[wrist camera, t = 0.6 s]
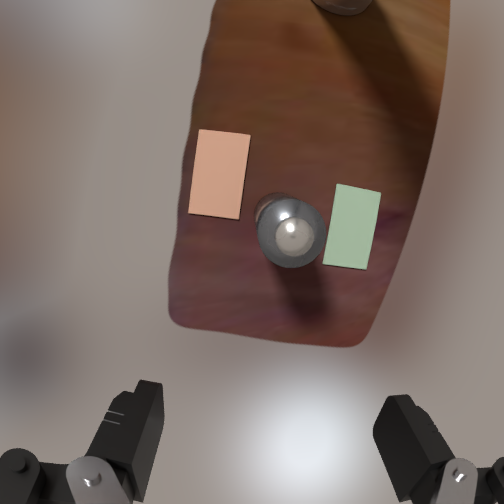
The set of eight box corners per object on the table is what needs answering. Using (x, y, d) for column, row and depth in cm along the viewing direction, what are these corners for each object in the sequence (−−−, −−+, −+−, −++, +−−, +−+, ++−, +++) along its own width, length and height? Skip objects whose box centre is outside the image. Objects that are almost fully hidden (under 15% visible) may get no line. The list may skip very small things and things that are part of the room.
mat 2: (336, 183, 36) (337, 183, 36) (380, 192, 36) (381, 192, 36) (322, 263, 38) (322, 263, 38) (365, 269, 39) (366, 269, 38)
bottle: (257, 189, 36) (264, 196, 23) (304, 196, 36) (335, 207, 24) (250, 235, 37) (253, 267, 25) (296, 242, 38) (322, 276, 25)
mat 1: (199, 129, 34) (199, 129, 34) (250, 135, 35) (250, 135, 34) (188, 212, 37) (188, 213, 36) (238, 219, 37) (238, 219, 37)
